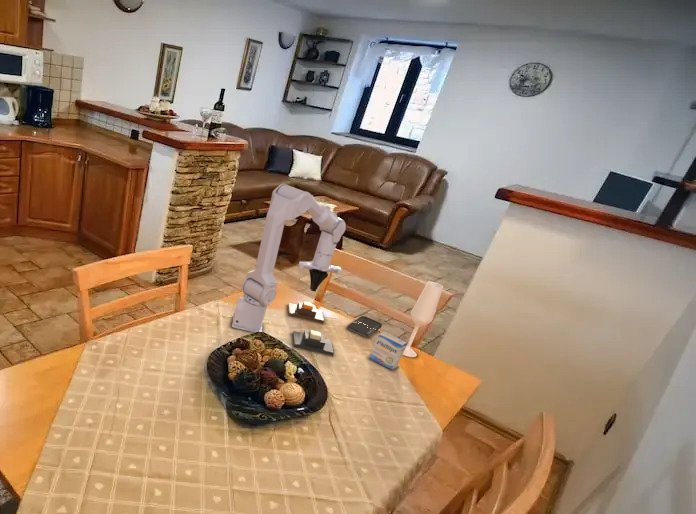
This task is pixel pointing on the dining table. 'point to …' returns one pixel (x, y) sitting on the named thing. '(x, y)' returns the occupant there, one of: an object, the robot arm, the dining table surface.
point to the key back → (307, 305)
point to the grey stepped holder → (312, 343)
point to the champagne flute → (424, 311)
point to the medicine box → (388, 350)
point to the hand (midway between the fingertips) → (312, 290)
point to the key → (315, 335)
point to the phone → (364, 326)
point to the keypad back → (305, 312)
